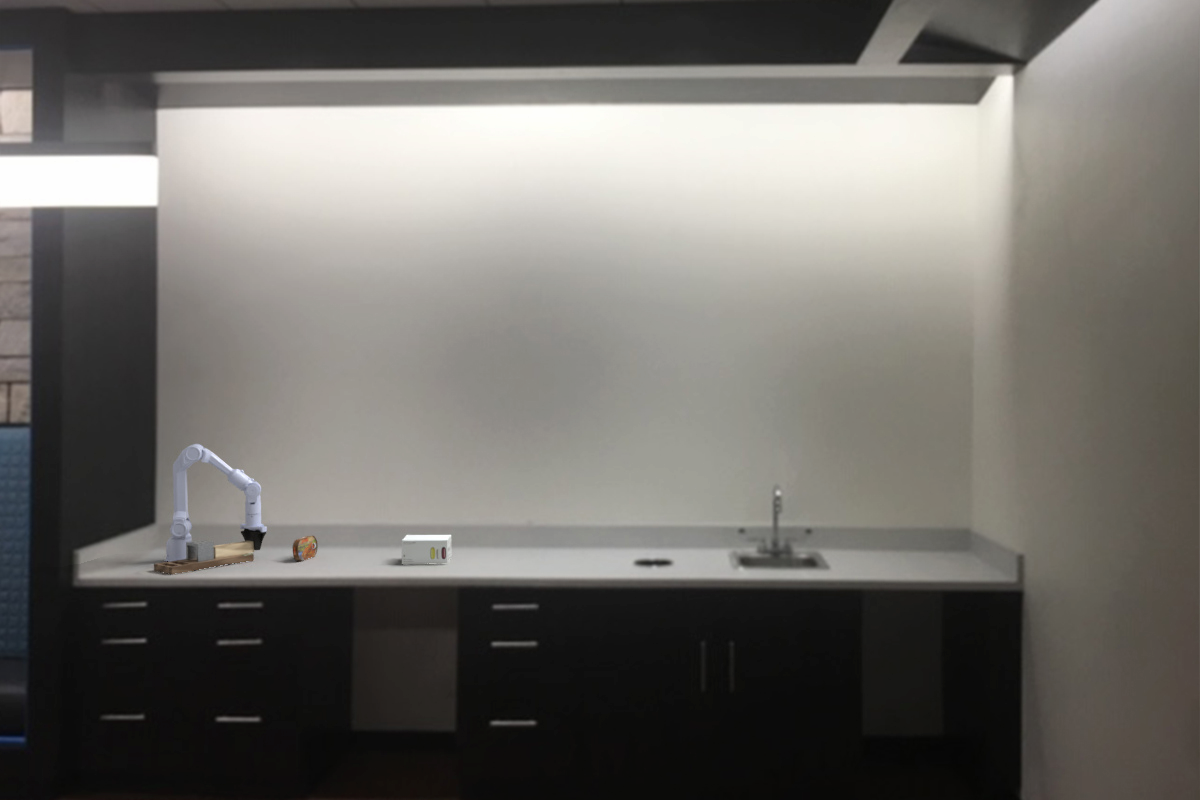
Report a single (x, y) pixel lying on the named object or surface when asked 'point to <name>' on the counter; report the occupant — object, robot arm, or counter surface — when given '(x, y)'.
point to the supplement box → (426, 549)
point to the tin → (305, 548)
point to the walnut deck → (200, 563)
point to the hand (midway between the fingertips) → (253, 549)
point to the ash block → (233, 549)
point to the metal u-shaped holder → (200, 550)
